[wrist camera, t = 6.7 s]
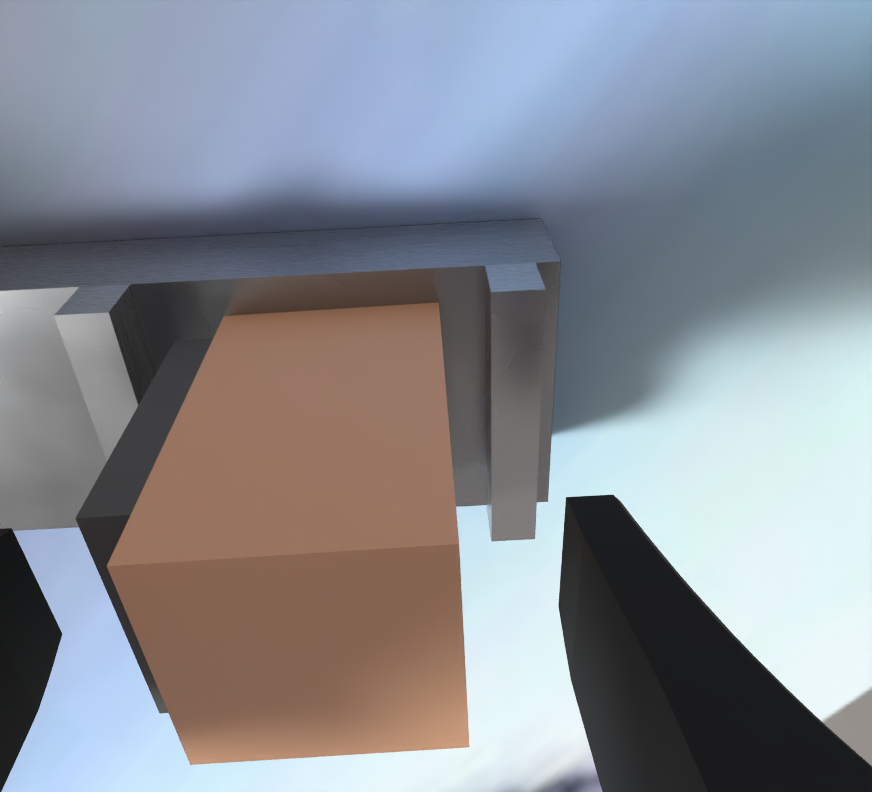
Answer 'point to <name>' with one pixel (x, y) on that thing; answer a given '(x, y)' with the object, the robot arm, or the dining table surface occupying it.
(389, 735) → the tan block with backing
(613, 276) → the dining table surface
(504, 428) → the rail
